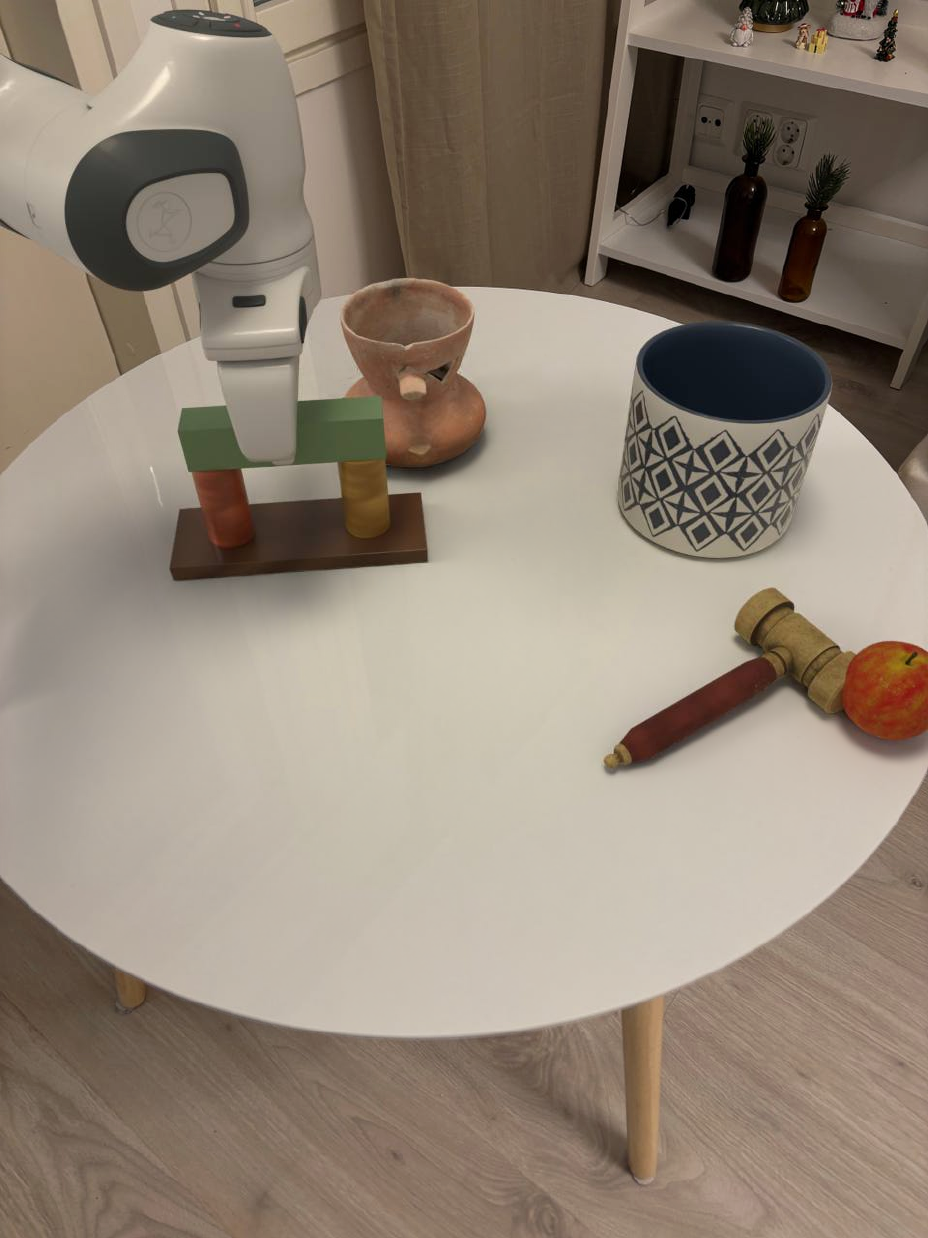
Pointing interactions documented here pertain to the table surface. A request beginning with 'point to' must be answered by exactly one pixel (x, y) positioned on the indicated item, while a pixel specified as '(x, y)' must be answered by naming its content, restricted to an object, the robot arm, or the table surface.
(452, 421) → the ceramic jug
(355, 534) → the rod stand
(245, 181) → the robot arm
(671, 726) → the gavel
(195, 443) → the bar
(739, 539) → the planter
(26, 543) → the table surface
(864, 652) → the fruit
